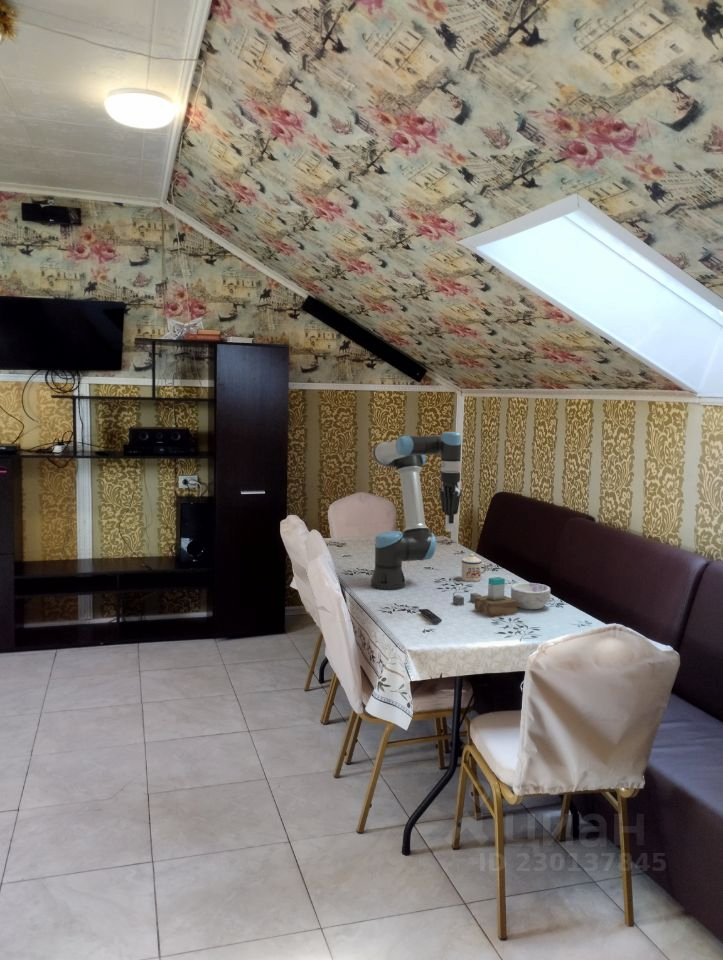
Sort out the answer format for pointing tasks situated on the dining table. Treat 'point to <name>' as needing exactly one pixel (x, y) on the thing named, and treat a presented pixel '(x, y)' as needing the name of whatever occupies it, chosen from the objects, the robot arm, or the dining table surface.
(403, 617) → the dining table surface
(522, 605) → the white floral bowl
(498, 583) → the plug
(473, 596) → the pair of grey prisms
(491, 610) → the port
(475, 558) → the teacup with lid
